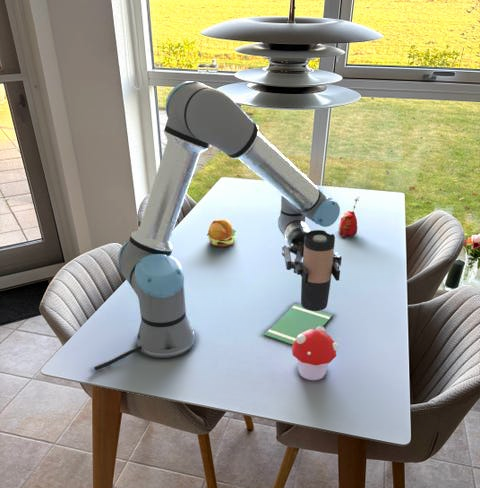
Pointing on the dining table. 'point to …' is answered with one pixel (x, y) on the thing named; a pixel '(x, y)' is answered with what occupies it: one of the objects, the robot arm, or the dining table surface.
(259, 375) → the dining table surface
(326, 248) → the travel mug
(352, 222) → the red clay folk toy
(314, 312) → the cloth
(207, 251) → the dining table surface
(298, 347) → the mushroom
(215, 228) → the cheeseburger
